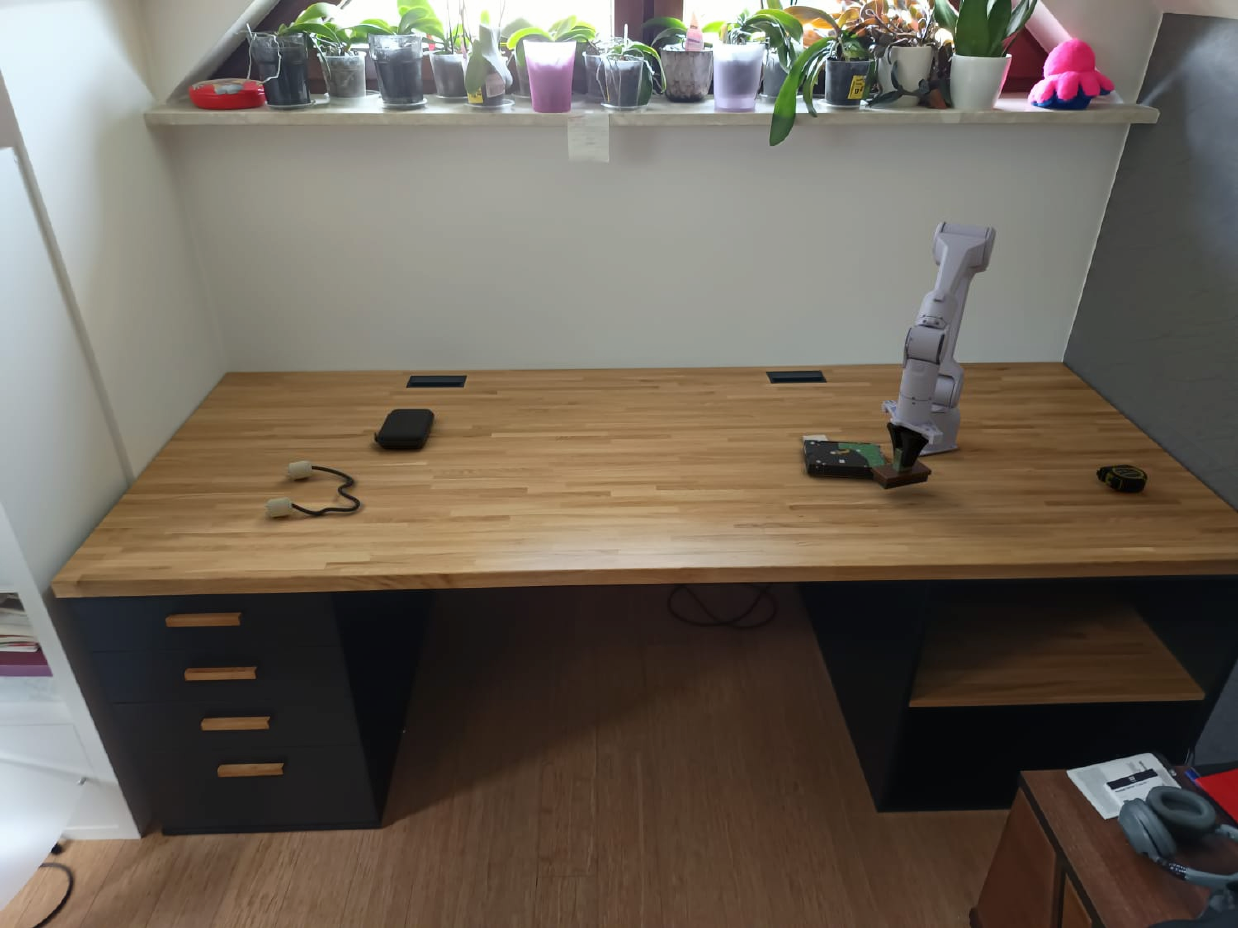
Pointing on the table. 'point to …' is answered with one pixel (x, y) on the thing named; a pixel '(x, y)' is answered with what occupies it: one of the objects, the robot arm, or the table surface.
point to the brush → (900, 473)
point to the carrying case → (405, 428)
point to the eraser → (815, 437)
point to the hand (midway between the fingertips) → (903, 463)
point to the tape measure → (1123, 478)
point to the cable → (301, 471)
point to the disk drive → (842, 458)
